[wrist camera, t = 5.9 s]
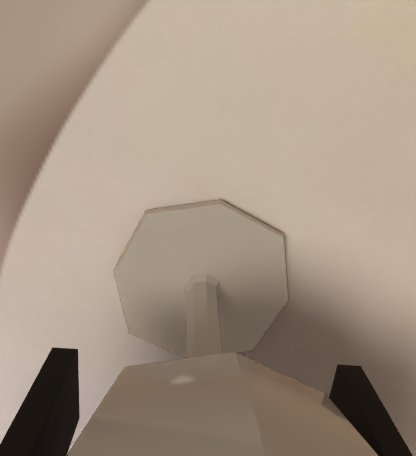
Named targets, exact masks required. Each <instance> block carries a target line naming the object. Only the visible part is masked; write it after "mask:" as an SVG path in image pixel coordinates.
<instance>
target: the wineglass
mask: <svg viewBox="0 0 416 456" xmlns="http://www.w3.org/2000/svg"><path fill="white" fill-rule="evenodd" d="M113 272H114V276H115V280H116V284H117V288H118V292H119V296H120V300H121V304H122V308H123V312H124V317H125V321H126V325H127V329H128V333H130V334H132V335H134V336H136V337H139V338H141V339H143V340H145V341H148V342H150V343H152V344H154V345H157V346H159V347H161V348H164V349H166V350H168V351H170V352H173V353H175V354H177V355H179V356H182V357H184V358H186V359H179V360H171V361H164V362H156V363H149V364H142V365H134V366H127V367H124V368H123V370H122V371H121V373H120V375H119V376H118V378H117V379H116V381H115V382H114V384H113V385H112V387H111V388H110V390H109V391H108V393H107V394H106V396H105V397H104V399H103V400H102V402H101V404H100V405H99V407H98V408H97V410H96V411H95V413H94V414H93V416H92V417H91V419H90V420H89V422H88V423H87V425H86V426H85V428H84V429H83V431H82V433H81V434H80V436H79V437H78V439H77V440H76V442H75V443H74V445H73V446H72V448H71V449H70V451H69V452H68V454H67V456H378V455H377V454H376V452H375V451H374V450H373V449H372V448H371V447H370V445H369V444H368V443H367V442H366V441H365V440H364V438H363V437H362V436H361V435H360V434H359V433H358V431H357V430H356V429H355V428H354V427H353V426H352V424H351V423H350V422H349V421H348V420H347V419H346V417H345V416H344V415H343V414H342V413H341V411H340V410H339V409H338V408H337V407H336V406H335V404H334V403H333V402H332V401H331V400H330V399H329V397H328V396H327V395H326V394H325V393H323V392H320V391H318V390H316V389H314V388H312V387H310V386H307V385H305V384H303V383H301V382H299V381H297V380H294V379H292V378H290V377H288V376H286V375H284V374H281V373H279V372H277V371H275V370H273V369H271V368H268V367H266V366H264V365H262V364H260V363H258V362H255V361H253V360H251V359H249V358H247V357H245V356H242V355H240V354H238V352H246V351H252V350H253V349H254V347H255V346H256V345H257V343H258V342H259V340H260V339H261V338H262V336H263V335H264V334H265V332H266V331H267V329H268V328H269V327H270V325H271V324H272V322H273V321H274V320H275V318H276V317H277V315H278V314H279V313H280V311H281V310H282V309H283V307H284V306H285V304H286V303H287V302H288V298H289V297H288V285H287V272H286V259H285V246H284V234H282V233H281V232H279V231H277V230H275V229H273V228H271V227H270V226H268V225H266V224H264V223H262V222H260V221H259V220H257V219H255V218H253V217H251V216H249V215H248V214H246V213H244V212H242V211H240V210H238V209H237V208H235V207H233V206H231V205H229V204H227V203H225V202H224V201H222V200H213V201H206V202H199V203H192V204H185V205H177V206H170V207H163V208H156V209H149V210H145V212H144V214H143V216H142V218H141V219H140V221H139V223H138V225H137V227H136V229H135V231H134V232H133V234H132V236H131V238H130V240H129V242H128V244H127V245H126V247H125V249H124V251H123V253H122V255H121V257H120V258H119V260H118V262H117V264H116V266H115V268H114V270H113Z"/></svg>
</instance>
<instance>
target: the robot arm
mask: <svg viewBox="0 0 416 456" xmlns="http://www.w3.org/2000/svg"><path fill="white" fill-rule="evenodd" d="M329 399H330V400H331V401H332V402H333V403H334V404H335V406H336V407H337V408H338V409H339V410H340V411H341V413H342V414H343V415H344V416H345V417H346V419H347V420H348V421H349V422H350V423H351V424H352V426H353V427H354V428H355V429H356V430H357V431H358V433H359V434H360V435H361V436H362V437H363V438H364V440H365V441H366V442H367V443H368V444H369V445H370V447H371V448H372V449H373V450H374V451H375V452H376V454H377V455H378V456H412V454H411V452H410V451H409V449H408V447H407V445H406V444H405V442H404V440H403V438H402V437H401V435H400V433H399V432H398V430H397V428H396V426H395V425H394V423H393V421H392V419H391V418H390V416H389V414H388V412H387V411H386V409H385V407H384V406H383V404H382V402H381V400H380V399H379V397H378V395H377V393H376V392H375V390H374V388H373V386H372V385H371V383H370V381H369V380H368V378H367V376H366V374H365V373H364V371H363V369H362V367H361V366H350V365H337V369H336V373H335V377H334V381H333V385H332V389H331V392H330V396H329ZM78 421H79V380H78V349H66V348H52V350H51V351H50V353H49V355H48V357H47V359H46V361H45V363H44V364H43V366H42V368H41V370H40V372H39V374H38V376H37V377H36V379H35V381H34V383H33V385H32V387H31V388H30V390H29V392H28V394H27V396H26V398H25V400H24V401H23V403H22V405H21V407H20V409H19V411H18V413H17V414H16V416H15V418H14V420H13V422H12V424H11V426H10V427H9V429H8V431H7V433H6V435H5V437H4V439H3V440H2V442H1V444H0V456H66V455H67V452H68V449H69V446H70V444H71V441H72V438H73V435H74V432H75V429H76V426H77V423H78Z"/></svg>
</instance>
